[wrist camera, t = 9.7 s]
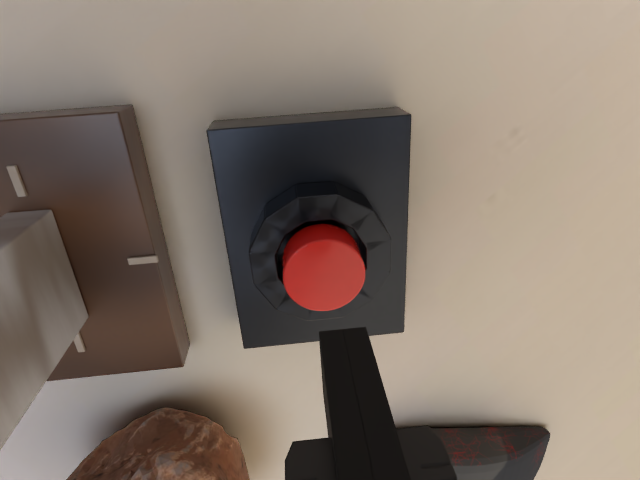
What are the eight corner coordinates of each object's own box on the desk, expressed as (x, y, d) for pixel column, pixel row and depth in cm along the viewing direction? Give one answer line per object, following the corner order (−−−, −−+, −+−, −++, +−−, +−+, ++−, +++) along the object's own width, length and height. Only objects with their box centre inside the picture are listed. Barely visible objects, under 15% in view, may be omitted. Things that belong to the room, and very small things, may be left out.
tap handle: (6, 212, 19) (-160, 322, 12) (52, 208, 20) (-85, 315, 12) (49, 320, 22) (-66, 465, 15) (89, 316, 22) (-5, 458, 15)
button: (278, 226, 19) (278, 243, 18) (358, 219, 19) (365, 236, 18) (286, 294, 21) (286, 315, 19) (359, 287, 21) (366, 307, 19)
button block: (213, 120, 20) (199, 139, 17) (399, 106, 21) (424, 122, 17) (246, 324, 26) (241, 372, 22) (394, 310, 26) (413, 354, 23)
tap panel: (-97, 120, 19) (-139, 130, 17) (134, 104, 20) (119, 111, 18) (17, 361, 25) (-4, 389, 24) (192, 344, 26) (185, 369, 24)
